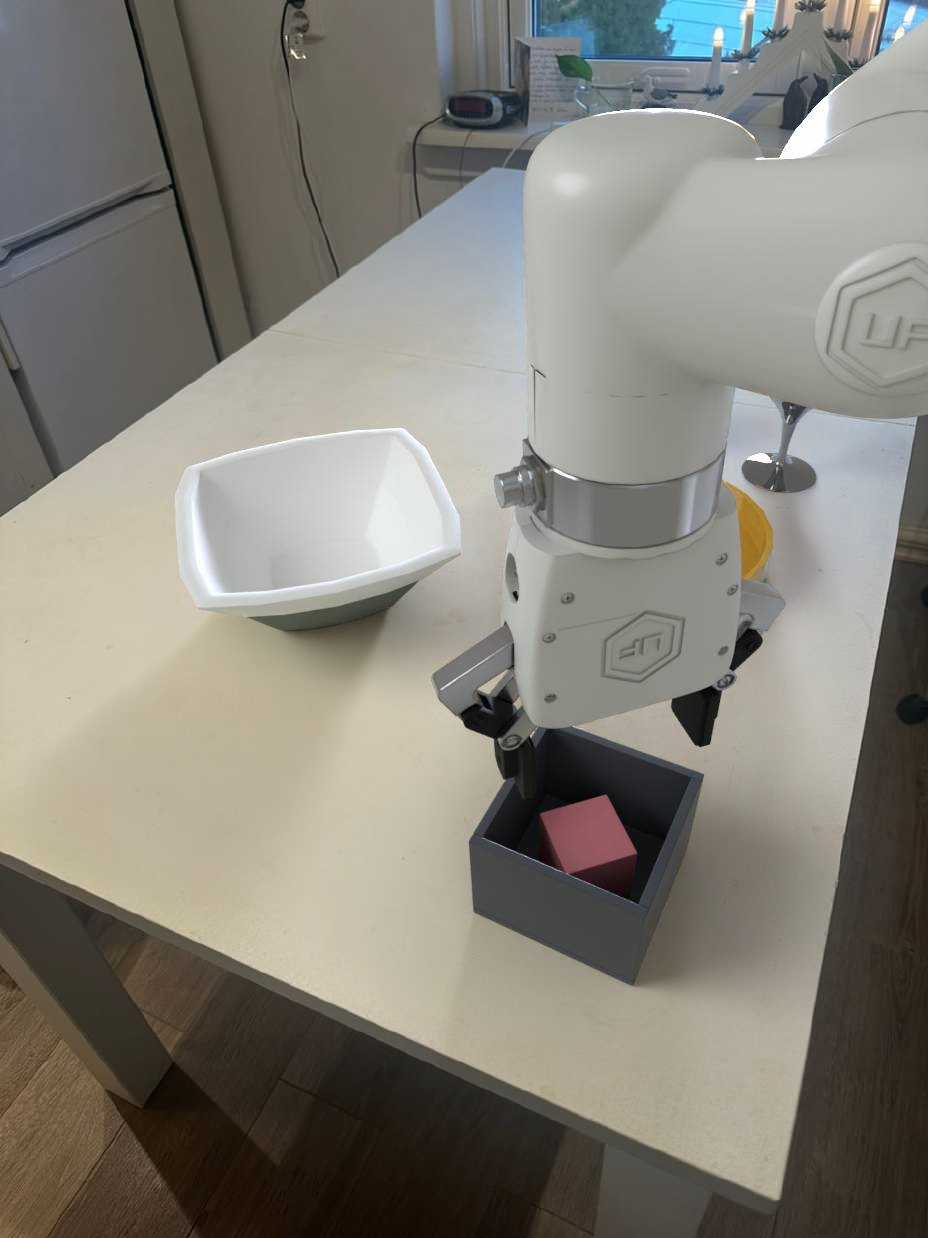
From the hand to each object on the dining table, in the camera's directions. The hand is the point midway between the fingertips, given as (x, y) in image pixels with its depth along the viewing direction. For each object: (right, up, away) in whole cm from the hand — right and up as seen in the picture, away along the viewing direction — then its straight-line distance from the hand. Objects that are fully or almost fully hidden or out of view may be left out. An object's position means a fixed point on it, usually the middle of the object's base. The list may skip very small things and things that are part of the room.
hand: (606, 751), depth 46 cm
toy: (0, -9, +8) cm, 12 cm away
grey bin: (0, -9, +9) cm, 13 cm away
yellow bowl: (+9, +13, +32) cm, 36 cm away
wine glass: (+24, +21, +41) cm, 52 cm away
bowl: (-20, +10, +31) cm, 38 cm away
